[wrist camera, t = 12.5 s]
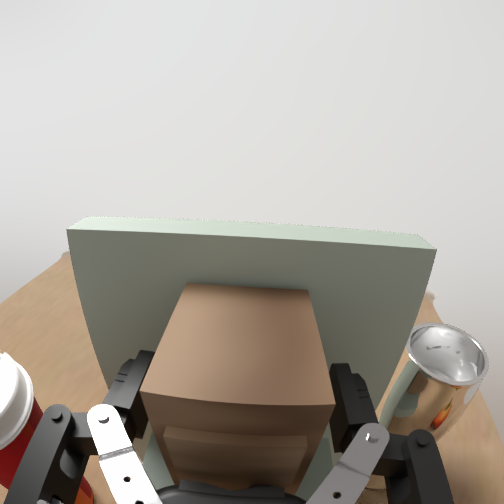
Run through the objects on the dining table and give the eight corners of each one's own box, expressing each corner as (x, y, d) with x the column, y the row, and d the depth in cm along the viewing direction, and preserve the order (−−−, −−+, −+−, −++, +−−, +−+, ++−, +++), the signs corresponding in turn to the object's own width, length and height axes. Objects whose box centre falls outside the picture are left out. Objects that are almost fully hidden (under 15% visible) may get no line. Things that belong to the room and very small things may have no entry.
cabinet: (187, 532, 10) (125, 425, 6) (202, 439, 17) (186, 282, 12) (280, 538, 10) (343, 441, 6) (278, 443, 17) (308, 289, 12)
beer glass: (330, 477, 20) (389, 364, 15) (361, 428, 26) (413, 310, 20) (394, 503, 17) (490, 399, 11) (417, 450, 22) (490, 337, 16)
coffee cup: (38, 452, 18) (-38, 334, 12) (110, 468, 19) (44, 350, 14) (21, 517, 10) (-92, 412, 5) (101, 544, 12) (-10, 463, 6)
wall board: (131, 515, 15) (-13, 283, 7) (156, 427, 25) (111, 202, 17) (340, 528, 15) (508, 313, 7) (328, 437, 25) (396, 217, 16)
